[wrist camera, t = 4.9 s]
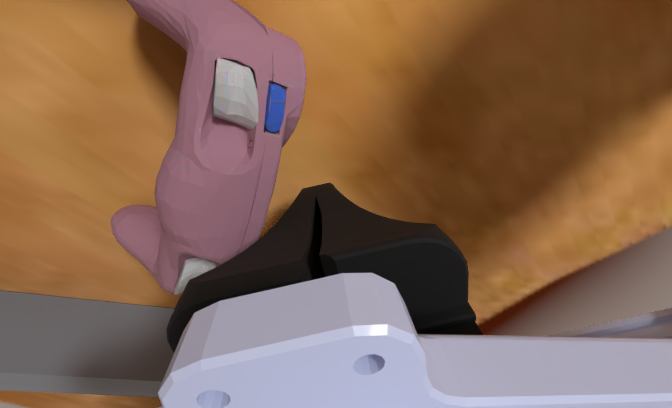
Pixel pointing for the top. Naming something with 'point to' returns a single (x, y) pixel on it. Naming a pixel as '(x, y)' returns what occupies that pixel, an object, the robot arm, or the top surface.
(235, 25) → the video game controller
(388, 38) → the top surface
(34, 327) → the box
